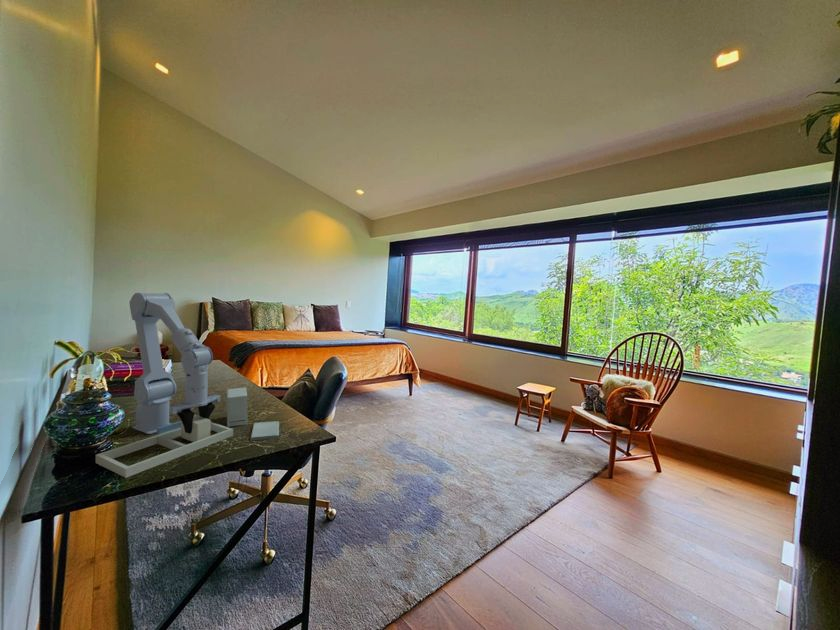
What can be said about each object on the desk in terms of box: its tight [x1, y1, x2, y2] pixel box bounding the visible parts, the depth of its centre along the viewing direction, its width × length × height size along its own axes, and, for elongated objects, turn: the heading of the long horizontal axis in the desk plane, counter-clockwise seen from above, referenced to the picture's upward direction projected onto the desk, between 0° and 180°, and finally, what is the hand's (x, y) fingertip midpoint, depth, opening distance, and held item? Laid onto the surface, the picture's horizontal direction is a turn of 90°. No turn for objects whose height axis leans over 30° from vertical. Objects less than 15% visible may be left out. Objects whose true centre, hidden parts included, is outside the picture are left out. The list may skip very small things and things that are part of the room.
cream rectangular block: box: [180, 414, 212, 443], centre depth 106 cm, size 8×4×6 cm, turn 66°
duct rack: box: [95, 414, 234, 478], centre depth 100 cm, size 15×29×4 cm, turn 156°
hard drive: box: [250, 421, 280, 442], centre depth 115 cm, size 2×8×12 cm
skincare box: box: [226, 386, 248, 428], centre depth 123 cm, size 10×6×10 cm, turn 29°
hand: (195, 430), depth 106 cm, fingers closed on cream rectangular block, 4 cm apart
